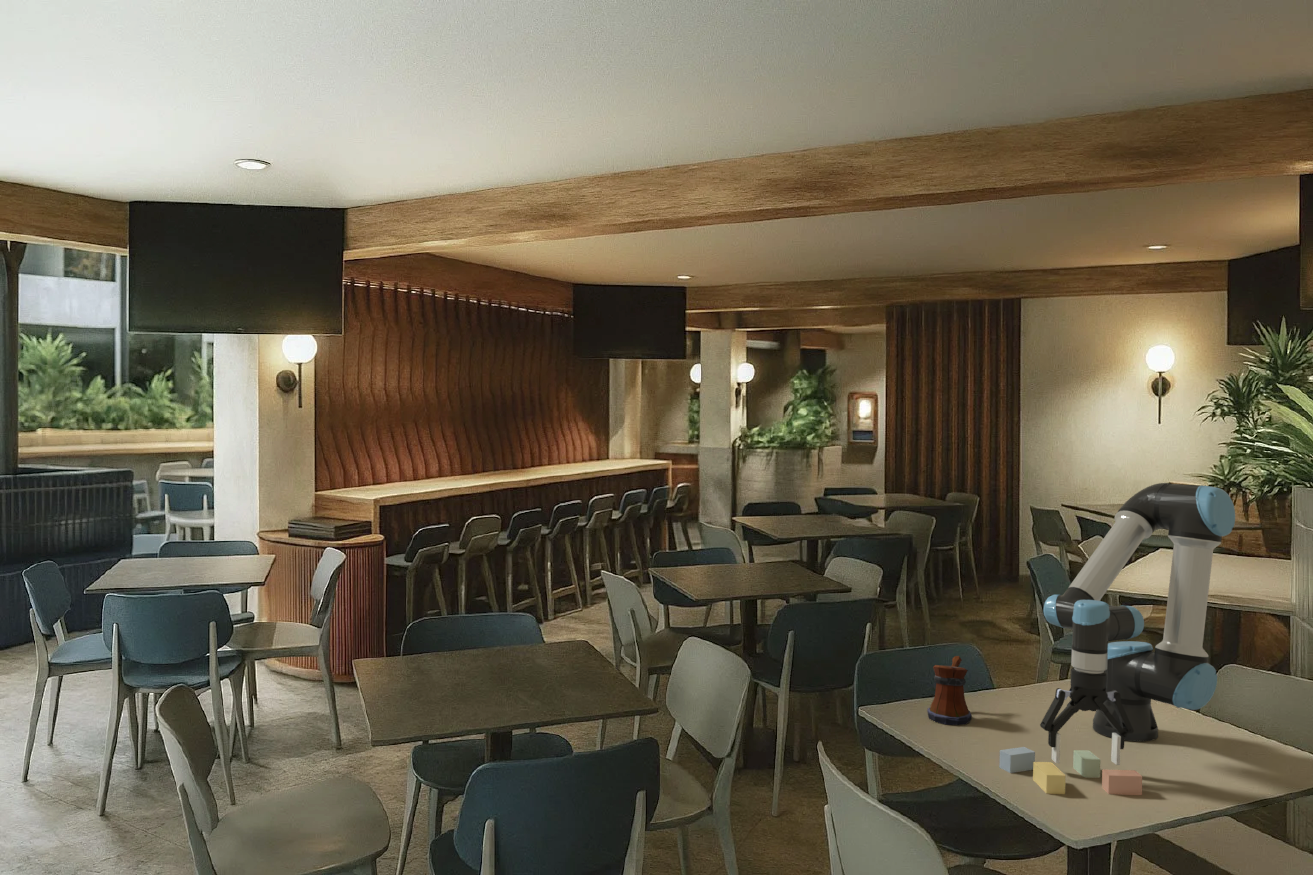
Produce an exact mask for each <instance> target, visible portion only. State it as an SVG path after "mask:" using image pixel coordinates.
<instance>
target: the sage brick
mask: <svg viewBox="0 0 1313 875" xmlns="http://www.w3.org/2000/svg"><path fill="white" fill-rule="evenodd" d="M1072 759H1073V760H1072V761H1073V762H1072V765H1073V766H1072V768H1073V770H1075V771H1076V772H1077V773H1078V774H1080V776H1082V777H1083V778H1099V779H1100V778H1101V758H1099V757H1098V756H1097V755H1095V754H1094V752H1092V751H1090V750H1089V749H1088V750H1085V749H1083V750H1082V749H1081V750H1080V749H1079V750H1078V749H1075V750H1074V749H1073V758H1072Z"/></svg>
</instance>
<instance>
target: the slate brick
mask: <svg viewBox="0 0 1313 875" xmlns="http://www.w3.org/2000/svg"><path fill="white" fill-rule="evenodd" d="M1033 762H1036V751H1034V750H1032V749H1030V748H1027V747H1025V746H1020V747H1013V748H1006V749H1000V750H999V769H1001V770H1004V771H1005V772H1007V773H1009V774H1013V773H1014V774H1015V773H1018V772H1025V771H1032V770H1033Z"/></svg>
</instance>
